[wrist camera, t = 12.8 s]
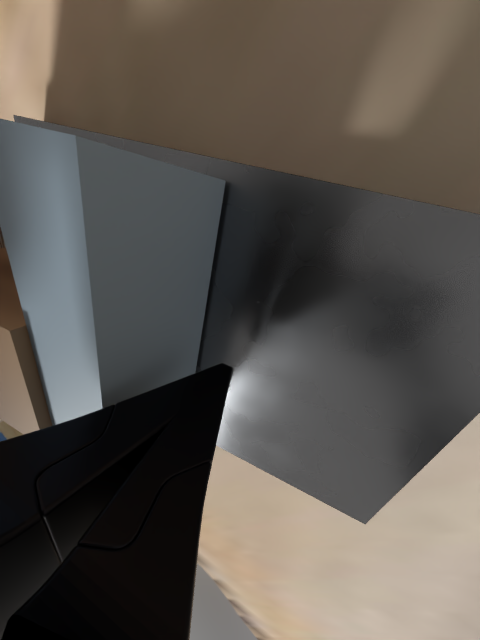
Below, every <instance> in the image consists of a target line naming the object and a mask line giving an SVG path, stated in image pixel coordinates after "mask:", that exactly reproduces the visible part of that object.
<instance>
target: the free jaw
mask: <svg viewBox="0 0 480 640" xmlns="http://www.w3.org/2000/svg"><path fill="white" fill-rule="evenodd" d="M225 182H226V181H225V180H222V179H218V178H215V177H212V176H208V175H205V174H202V173H198V172H195V171H192V170H188V169H185V168H182V167H179V166H175V165H172V164H169V163H165V162H162V161H159V160H155V159H152V158H149V157H145V156H142V155H139V154H135V153H132V152H129V151H125V150H122V149H119V148H115V147H112V146H109V145H105V144H102V143H99V142H95V141H92V140H89V139H85V138H82V137H79V136H76V135H71V134H67V133H62V132H58V131H53V130H49V129H44V128H40V127H35V126H31V125H26V124H22V123H17V122H13V121H8V120H4V119H0V227H1V230H2V234H3V238H4V242H5V246H6V250H7V253H8V257H9V261H10V265H11V269H12V273H13V277H14V280H15V284H16V288H17V292H18V296H19V300H20V303H21V307H22V311H23V315H24V319H25V323H26V326H27V330H28V334H29V338H30V341H31V345H32V349H33V353H34V357H35V361H36V364H37V368H38V372H39V376H40V380H41V384H42V388H43V391H44V395H45V399H46V403H47V407H48V411H49V414H50V418H51V422H52V426H53V425H56V424H59V423H63V422H66V421H69V420H72V419H75V418H78V417H80V416H83V415H86V414H89V413H92V412H94V411H97V410H100V409H102V408H105V407H108V406H110V405H113V404H114V405H116V404H117V403H118V402H121V401H124V400H126V399H129V398H131V397H134V396H137V395H139V394H142V393H144V392H147V391H150V390H152V389H155V388H158V387H160V386H163V385H165V384H168V383H171V382H173V381H176V380H178V379H181V378H184V377H186V376H189V375H191V374H194V373H195V372H196V366H197V359H198V353H199V347H200V340H201V334H202V328H203V321H204V315H205V309H206V302H207V296H208V290H209V283H210V277H211V271H212V264H213V258H214V252H215V245H216V239H217V233H218V226H219V220H220V214H221V207H222V201H223V195H224V188H225Z"/></svg>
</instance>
